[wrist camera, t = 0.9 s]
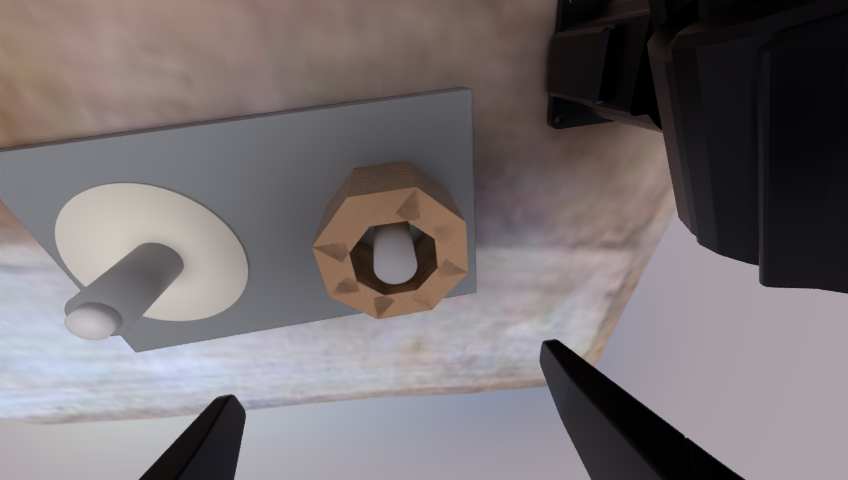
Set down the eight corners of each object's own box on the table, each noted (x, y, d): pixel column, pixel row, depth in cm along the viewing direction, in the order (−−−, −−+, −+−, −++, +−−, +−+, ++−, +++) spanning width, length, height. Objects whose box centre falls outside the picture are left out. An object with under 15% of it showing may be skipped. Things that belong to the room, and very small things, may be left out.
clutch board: (463, 86, 16) (510, 101, 11) (470, 279, 23) (501, 351, 17) (-2, 148, 15) (-231, 203, 9) (150, 335, 22) (70, 432, 16)
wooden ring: (445, 154, 17) (464, 179, 13) (453, 261, 20) (469, 302, 17) (313, 174, 16) (297, 205, 13) (345, 279, 20) (339, 326, 16)
